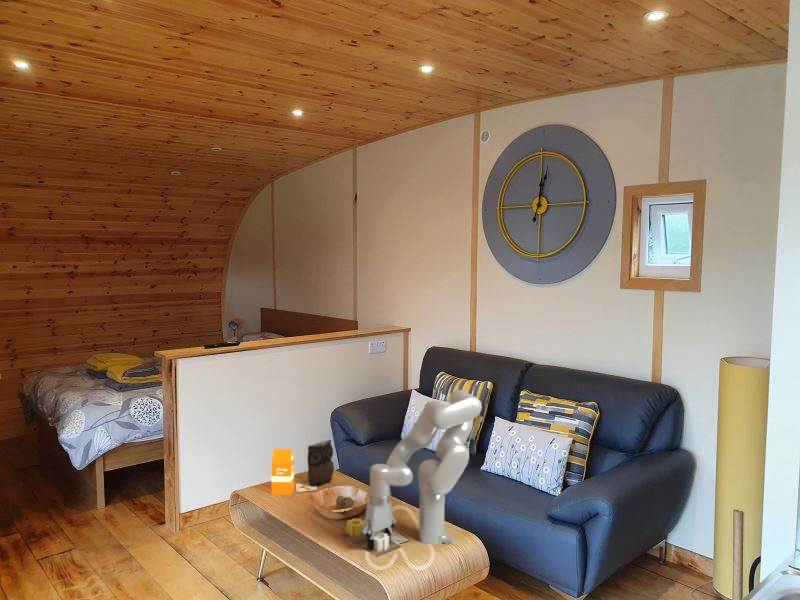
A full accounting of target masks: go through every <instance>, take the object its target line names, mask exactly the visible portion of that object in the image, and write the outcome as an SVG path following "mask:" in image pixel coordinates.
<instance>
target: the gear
mask: <svg viewBox="0 0 800 600" xmlns="http://www.w3.org/2000/svg"><path fill="white" fill-rule="evenodd" d="M362 519H363V518H355V517H354V518H352V519H350V520H349V519H348V520H347V522H346V531H347V534H350V536H360V535H361V534H362V535H364V534H363V533H362V532H361V529H362V528H363V527H364V525H365V520H362Z"/></svg>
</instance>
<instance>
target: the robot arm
mask: <svg viewBox="0 0 800 600" xmlns="http://www.w3.org/2000/svg"><path fill="white" fill-rule="evenodd" d="M482 406H483V405H482V403H481V401H480V399H479V398H478V397H476V396H474V395H473V394H471V393H469V392H468V391H465V390H462V389H457V390H454V391H453V392H452V393H451V394H450V397H449V404H446V405H445V404H444V403H442V402H440V401H437V400H432V401H429V402H427V403H426V405H425V406H424V408H423V409H422V411H421V413H420V415H419V416H418V418H417V420H416V422H415V423H414V425H413V427H412V429H411V430H410V431H409V433H408V434H407V435H406V436H405V437H403V439H401V440H400V441H399V442H398V443H397V444H396V446H395V447H394V448H393V450H392V452H391V453H390V455H389V456H388V458H387V460H386V463H375V464H373V465H371V466H370V470H369V502H367V505H366V510H365V515H364V516H365V519H364V521H365V525H364V527H363V528H362V529H361V532H362V533H363V534H364V535H365V536H366V537H367V546H368V548H370V549H372V550H374V539H373V537H374V534H375V532H376V533H377V532H380V531H382V530H383V533H387V534H388V536H389V543H391V541H392V537H391V536H392V534H391V533H393V529H394V527H395V525H396V522H397V520H398V518H396V517H395V516H394V514H393V506H392V505H393V504H392V501H391V496H393V495H392V494H393V493H392V492H391V486H392V487H405V486H408V485H409V484H411V483H412V482H413V478H414V473H413V472H412V470H411V468H410V467H409V466H408V465H407V463H408V461H409V459H410V458H411V456H412V455H413V454H414V453H415V452H416V451H418V450H421V449H424V448H428V447H429V446H430V445H431V443H432V441H433V439H434V437H435V436H436V434H437V432H438V431H439V430H445V431H444V433H443V434H442V436H441V437H440V439H439V440H438V441H437V442H438V443H436V446H435V453H436V456H437V457H438V458H439V459H440V460H441V461H440V462H439V461H437V460H436V459H426V460H423V461H422V463H421V464H420V465H419V466H418V470H417V479H418V488H419V509H418V510H419V511H418V512H419V515H418V516H419V521H418V523H419V525H418V526H419V527H418V528H419V529H418V539H419V541H420V542H421V543H423V544H426V545H430V546H431V545H432V546H433V545H443V544H446V545H448V544H452V545H454V544H455V538H454V535H451V534H447V529H445V502H446V501H445V499H446V498H445V495H447V494H448V493H449V492H451V491H452V490H453V488H454V487H455V485H456V483H458V481H459V479H460V477H461V475H462V474H463V473H464V471H465V469H466V468H467V466H468V464H469V460H470V452H469V449H468V448H467V446H466V442H467V440H468V438H469V436H470V434H471V433H472V430H473V426H474V419H475V418H478V416H479V415H480V413H481V412H482ZM367 529H368V531H367ZM371 532H372V533H371ZM370 533H371V535H370Z"/></svg>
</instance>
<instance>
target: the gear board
mask: <svg viewBox="0 0 800 600" xmlns="http://www.w3.org/2000/svg"><path fill="white" fill-rule="evenodd" d="M367 531H368V529H367ZM371 533H372V532H371ZM371 533H370V535H371ZM375 533H377V531H376V532H375ZM337 534H338V535H339V536H341V537H343V538H344V539H346V540H347V541H349V542H351V543H352V544H354V545H356V546H357V547H360V549H363V550H364V551H366V552H368V553H369V554H371V555H373V556H374V557H376V558H378V557H380V556H383V555H386V554H388V553H390V552H393V551H395V550H397V549H401V548H403V546H402V545H400V544H398V543H396V542H395V541H392V540H391V543H389V548H387V550H380V551H377V550H372V549H370V548H368V546H367V537H366V536H365V535H362V534H361V535H360V536H350V534H347V530H345V531H341V532H339V533H337Z"/></svg>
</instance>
